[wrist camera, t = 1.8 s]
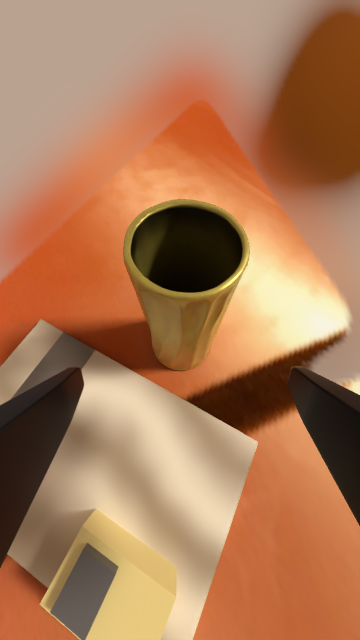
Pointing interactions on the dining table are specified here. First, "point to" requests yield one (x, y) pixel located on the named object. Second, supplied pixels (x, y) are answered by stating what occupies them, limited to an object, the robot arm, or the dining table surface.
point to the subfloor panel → (130, 470)
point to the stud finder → (112, 585)
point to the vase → (184, 275)
